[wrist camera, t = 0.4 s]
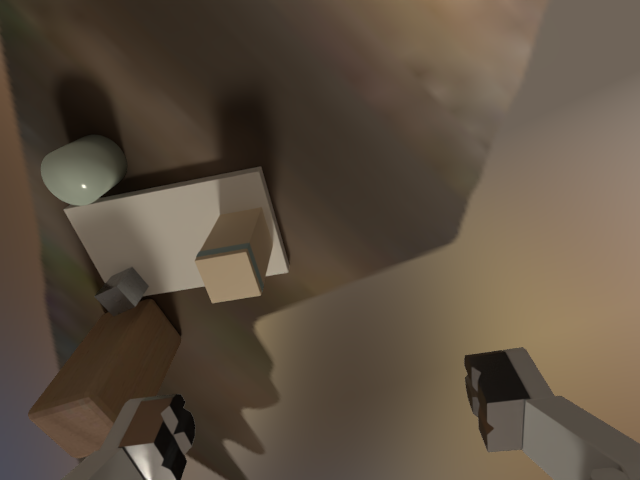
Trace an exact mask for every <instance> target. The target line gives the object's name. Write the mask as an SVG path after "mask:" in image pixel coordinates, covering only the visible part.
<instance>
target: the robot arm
mask: <svg viewBox="0 0 640 480" xmlns="http://www.w3.org/2000/svg"><path fill="white" fill-rule="evenodd" d="M464 364H465V368H466V370H467V374H468V375H467V376H466V377H465V382H466V391H467V396H468V400H469V403H470V406H471V409H472V412H473V414H474V415H476V416H477V417H478V421H479V430H480V433H481V436H482V438H483V440H484V444H485V446H486V449H487V451H488V452H496V451H509V450H522V449H523V452H524V453H525V454H526V455H527V456H529V457H530V458H531V459H532V460H533V461H534V462H535V463H536V464H537V465H538V466H540V467H541V468H542V469H543V470H544V471H545V472H546V473H547V474H548V475H550V476H551V477H552V478H553V479H554V480H640V444H639V443H637V442H636V441H634V440H633V439H631V438H629V437H628V436H626V435H624V434H623V433H621V432H620V431H618V430H616V429H615V428H613V427H611V426H610V425H608V424H606V423H605V422H603V421H602V420H600V419H598V418H597V417H595V416H593V415H592V414H590V413H588V412H587V411H585V410H584V409H582V408H580V407H578V406H577V405H575V404H574V403H572V402H570V401H569V400H567V399H565V398H564V397H562V396H554V394H553V393H552V391H551V389H550V388H549V386H548V384H547V383H546V381H545V380H544V378H543V376H542V375H541V373H540V372H539V370H538V368H537V367H536V365H535V363H534V362H533V360H532V359H531V357H530V355H529V354H528V352H527V351H526V350H525V349H524V348H523V347H521V348H514V349H507V350H503V351H502V350H499V351H492V352H485V353H479V354H472V355H465V358H464ZM184 405H185V400H184V399H183V397H182V395H181V394H172V395H162V396H153V397H145V398H137V399H130V400H128V401H127V402H126V403H125V404H124V406H123V408H122V410H121V412H120V413H119V415H118V417H117V419H116V421H115V423H114V424H113V426H112V428H111V430H110V432H109V433H108V435H107V437H106V439H105V441H104V443H103V444H102V446H101V448H100V450H98V451H94V452H93V453H92V454H90V455H89V456H88V457H87V458H86V459H85V460H83V461H82V462H81V463H80V464H79V465H78V466H77V467H75V468H74V469H73V470H72V471H71V472H70V473H69V474H67V475H66V476H65V477H64V478H63V479H62V480H181V478H182V475H183V472H184V469H185V466H186V463H187V460H186V458H185V455H184V454H185V453H186V452H187V451H188V450H189V449H190V448H191V447H192V444H193V441H194V438H195V422H194V418H193V416H192V414H191V412H189V411H188V410H186V409H184V408H183V407H184Z"/></svg>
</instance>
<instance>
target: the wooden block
mask: <svg viewBox="0 0 640 480" xmlns="http://www.w3.org/2000/svg"><path fill="white" fill-rule="evenodd" d="M180 343H181V337H180V335H179V334H178V332H177V331H176V330H175V328H174V327H173V326H172V324H171V323H170V321H169V320H168V319H167V317H166V316H165V315H164V313H163V312H162V311H161V309H160V308H159V307H158V305H157V304H156V302H155V301H154V300H152V299H145V300H142V301H139V302H138V304H137V305H136V307H134V308H132V309H130V310H127V311H125V312H123V313H121V314H118V315H116V316H114V317H113V316H112V315H111V313H110V312H107V313H105V314H103V315H102V316H101V318H100V319H99V320H98V322H97V323H96V324H95V325H94V327H93V328H92V329H91V331H90V332H89V333H88V335H87V336H86V337H85V339H84V340H83V341H82V342H81V344H80V345H79V346H78V348H77V349H76V350H75V352H74V353H73V354H72V356H71V357H70V358H69V359H68V361H67V362H66V363H65V365H64V366H63V367H62V369H61V370H60V371H59V373H58V374H57V375H56V376H55V378H54V379H53V380H52V382H51V383H50V384H49V386H48V387H47V388H46V390H45V391H44V393H43V394H42V395H41V396H40V397H39V399H38V400H37V401H36V403H35V404H34V405H33V407H32V408H31V409H30V411H29V413H28V416H29V419H30V420H31V421H32V422H34V423H35V424H36V425H37V426H38V427H39V428H40V429H41V430H42V431H44V432H45V433H46V434H47V435H48V436H49V437H50V438H51V439H52V440H54V441H55V442H56V443H57V444H58V445H59V446H61V448H63V449H64V450H65V451H66V452H67V453H68V454H69V455H70V456H72V457H75V458H82V457H86V456H89V455H90V454H92V453H93V452H94V451H98V450H100V448H101V446H102V444H103V443H104V441H105V439H106V437H107V435H108V433H109V432H110V430H111V428H112V426H113V424H114V423H115V421H116V419H117V417H118V415H119V413H120V412H121V410H122V408H123V406H124V404H125V403H126V402H127V401H128V400H130V399H137V398H145V397H153V396H156V395H157V393H158V391H159V389H160V386H161V384H162V382H163V380H164V378H165V375H166V373H167V371H168V369H169V367H170V364H171V362H172V360H173V358H174V356H175V354H176V351H177V349H178V347H179V345H180Z"/></svg>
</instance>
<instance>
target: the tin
mask: <svg viewBox="0 0 640 480" xmlns="http://www.w3.org/2000/svg"><path fill="white" fill-rule="evenodd" d="M148 287H149V286H148V285H147V283H146V282H145V281H144V280H143V279H142V278H141V276H140V275H139V274H138V273H137V272H136V271H135V269H134V268H133V267H130V268H128V269H126V270H124V271H122V272H120V273H117V274H115V275H113V276H111V277H110V279H109V280H108V281H107V282H106V283H105V284H104V286H103V287H102V288H101V289H100V290H99V292H98V293H97V294H96V295H95V296H94V297H95V298H96V299H97V300H98V301H99V302H100V303H101V304H102V305H103V306H104V307H105V308H106V309H107V310H108V311H109V312H110V313H111V315H112V316H113V317H114V316H116V315H118V314H121V313H123V312H125V311H127V310H130V309H132V308H134V307H136V305H137V304H138V302H139V301H140V299H141V298H142V296H143V295H144V293H145V292H146V290H147V289H148Z"/></svg>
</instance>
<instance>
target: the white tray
mask: <svg viewBox="0 0 640 480" xmlns="http://www.w3.org/2000/svg"><path fill="white" fill-rule="evenodd" d="M260 207H262V209H263V213H264V216H265V219H266V223H267V226H268V229H269V233H270V236H271V239H272V243H273V248H272V252H271V256H270V260H269V264H268V268H267V272H266V276H270V275H276V274H282V273H288V271H289V262H288V258H287V255H286V251H285V248H284V244H283V241H282V237H281V234H280V230H279V227H278V224H277V220H276V217H275V213H274V210H273V206H272V203H271V199H270V196H269V192H268V189H267V185H266V182H265V178H264V175H263V171H262V168H261V166H260V167H255V168H250V169H245V170H240V171H235V172H230V173H225V174H220V175H215V176H210V177H204V178H199V179H194V180H189V181H184V182H179V183H174V184H169V185H164V186H159V187H154V188H149V189H143V190H138V191H133V192H128V193H123V194H118V195H113V196H108V197H103V198H98V199H97V200H96V201H94V202H93V203H91V204H88V205H83V206H78V205H72V204H70V205H69V206H68V207H66V208H65V209H63V210H64V211H65V213H66V215H67V217H68V219H69V220H70V222H71V224H72V226H73V227H74V229H75V231H76V233H77V235H78V236H79V238H80V240H81V242H82V244H83V245H84V247H85V249H86V251H87V252H88V254H89V256H90V258H91V260H92V261H93V263H94V265H95V267H96V268H97V270H98V272H99V274H100V276H101V277H102V279H103V281H104V283H106V282H107V281H108V280H109V279H110V277H111V276H113V275H115V274H117V273H120V272H122V271H124V270H126V269H128V268H130V267H133V268H134V269H135V271H136V272H137V273H138V274H139V275H140V276H141V278H142V279H143V280H144V281H145V282H146V283H147V285H148V286H149V287H148V289H147V290H146V292H145V293H144V295H143V296H148V295H154V294H160V293H166V292H172V291H179V290H185V289H191V288H197V287H203V286H205V285H204V282H203V280H202V278H201V275H200V273H199V271H198V268H197V266H196V263H195V259H196V256H197V254H198V252H199V251H200V250H201V248H202V246H203V245H204V243H205V241H206V239H207V237H208V236H209V234H210V232H211V230H212V228H213V227H214V225H215V223H216V221H217V219H218V218H219V216H220V215H222V214H228V213H233V212H239V211H244V210H249V209H255V208H260Z"/></svg>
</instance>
